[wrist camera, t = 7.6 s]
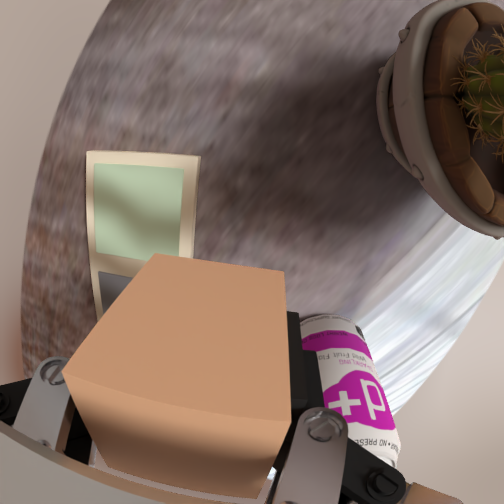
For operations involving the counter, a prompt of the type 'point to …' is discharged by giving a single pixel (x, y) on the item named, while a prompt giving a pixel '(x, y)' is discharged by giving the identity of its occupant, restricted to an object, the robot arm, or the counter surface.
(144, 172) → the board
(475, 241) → the counter surface
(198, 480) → the block
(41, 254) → the counter surface
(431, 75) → the flowerpot
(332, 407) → the supplement can
